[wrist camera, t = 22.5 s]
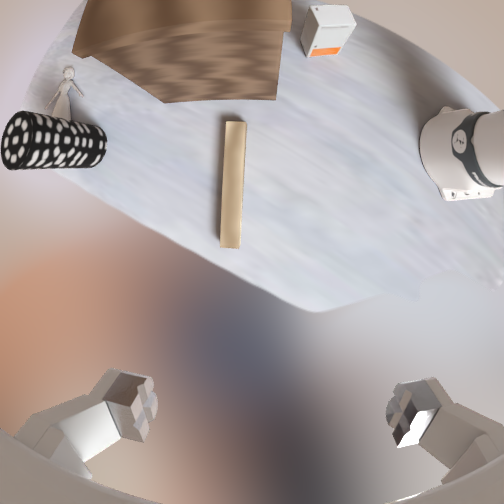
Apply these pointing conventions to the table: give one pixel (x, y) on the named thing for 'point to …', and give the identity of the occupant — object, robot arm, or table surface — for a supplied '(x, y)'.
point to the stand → (189, 45)
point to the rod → (233, 184)
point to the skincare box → (326, 29)
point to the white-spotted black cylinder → (50, 143)
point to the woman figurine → (64, 96)
